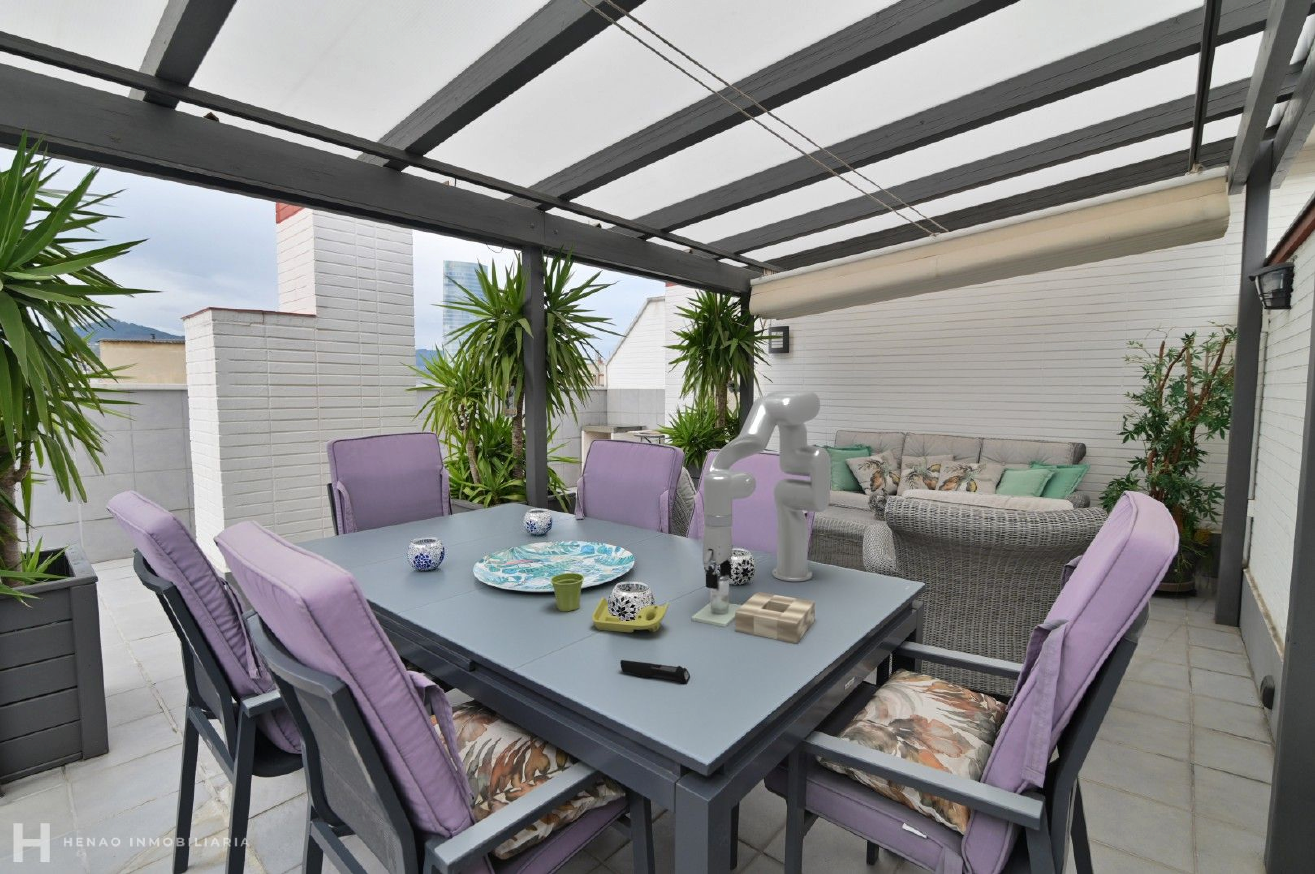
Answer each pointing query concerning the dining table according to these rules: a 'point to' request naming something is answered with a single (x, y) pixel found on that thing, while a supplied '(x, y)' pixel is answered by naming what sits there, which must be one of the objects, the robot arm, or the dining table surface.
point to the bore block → (775, 617)
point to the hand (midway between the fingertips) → (718, 582)
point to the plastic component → (648, 620)
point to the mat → (715, 619)
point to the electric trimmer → (655, 671)
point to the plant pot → (567, 590)
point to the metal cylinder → (720, 595)
